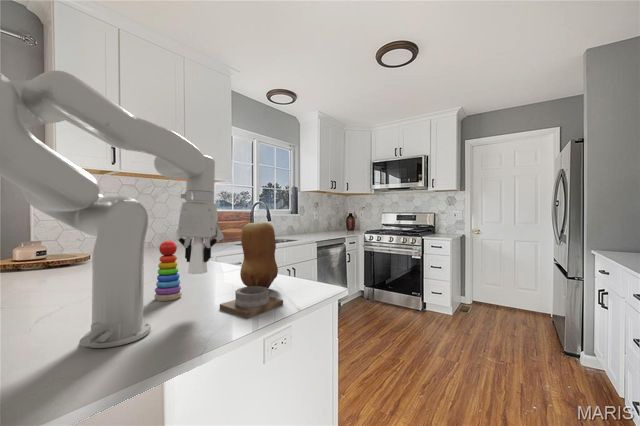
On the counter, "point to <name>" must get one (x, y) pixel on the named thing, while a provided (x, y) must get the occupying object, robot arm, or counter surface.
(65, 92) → the robot arm
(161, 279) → the stacking toy
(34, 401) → the counter surface
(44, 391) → the counter surface
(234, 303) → the shaft housing
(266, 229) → the butternut squash
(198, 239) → the pepper shaker
